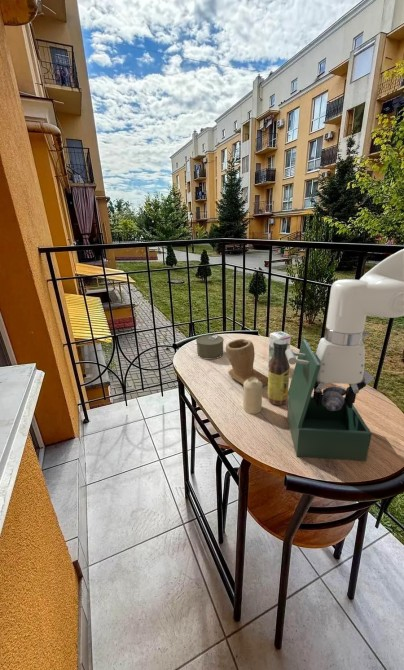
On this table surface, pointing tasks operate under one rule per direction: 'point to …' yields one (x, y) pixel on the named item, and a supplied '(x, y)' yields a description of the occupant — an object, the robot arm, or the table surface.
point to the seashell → (333, 398)
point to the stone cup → (243, 361)
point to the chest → (330, 433)
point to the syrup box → (277, 336)
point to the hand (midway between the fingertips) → (332, 403)
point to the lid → (302, 380)
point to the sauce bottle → (278, 374)
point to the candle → (252, 395)
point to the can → (210, 346)
